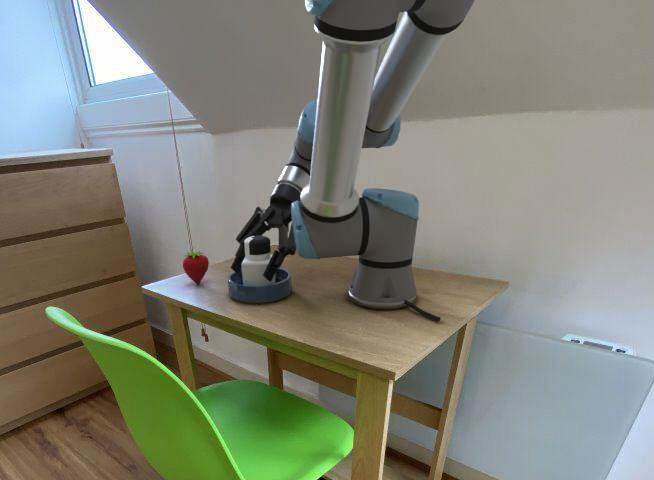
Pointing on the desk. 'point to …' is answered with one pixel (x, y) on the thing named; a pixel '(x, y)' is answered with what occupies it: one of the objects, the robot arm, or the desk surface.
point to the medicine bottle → (256, 261)
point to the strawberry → (195, 266)
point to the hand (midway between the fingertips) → (250, 274)
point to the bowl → (260, 288)
